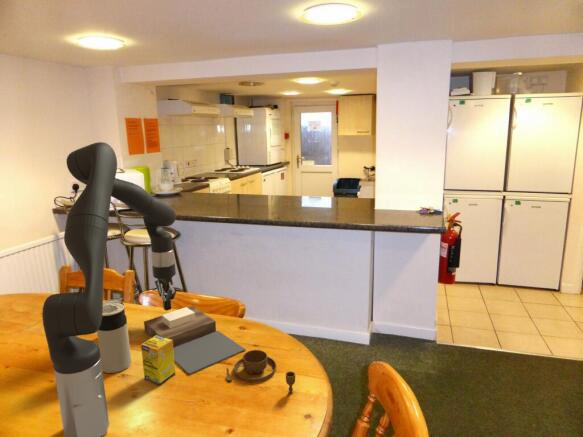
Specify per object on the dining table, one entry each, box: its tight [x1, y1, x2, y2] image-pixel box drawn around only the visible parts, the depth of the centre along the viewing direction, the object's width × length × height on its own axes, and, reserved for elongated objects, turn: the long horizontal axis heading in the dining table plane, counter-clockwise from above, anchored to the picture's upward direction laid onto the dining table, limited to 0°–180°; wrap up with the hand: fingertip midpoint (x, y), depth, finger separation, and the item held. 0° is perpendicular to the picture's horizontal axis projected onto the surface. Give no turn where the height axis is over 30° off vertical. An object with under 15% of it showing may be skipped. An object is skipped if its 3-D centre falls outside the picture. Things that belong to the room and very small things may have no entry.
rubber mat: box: [173, 330, 246, 376], centre depth 127 cm, size 16×19×1 cm
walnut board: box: [143, 305, 217, 348], centre depth 138 cm, size 16×18×4 cm
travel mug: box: [96, 303, 132, 374], centre depth 118 cm, size 8×8×18 cm
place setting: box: [225, 349, 296, 396], centre depth 112 cm, size 18×20×6 cm
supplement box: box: [140, 335, 176, 386], centre depth 113 cm, size 6×6×11 cm
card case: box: [161, 306, 195, 328], centre depth 138 cm, size 6×9×2 cm, turn 131°
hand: (167, 309), depth 144 cm, fingers closed
